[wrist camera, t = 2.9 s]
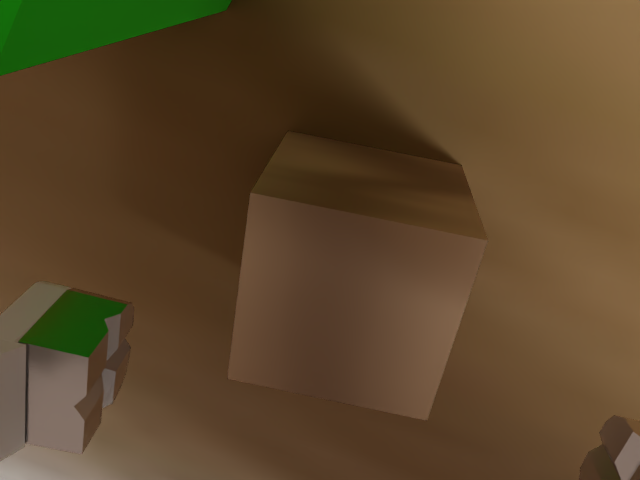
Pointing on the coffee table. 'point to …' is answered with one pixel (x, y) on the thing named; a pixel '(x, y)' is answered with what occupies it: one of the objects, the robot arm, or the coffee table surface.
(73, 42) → the puzzle toy
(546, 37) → the coffee table surface
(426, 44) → the coffee table surface
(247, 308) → the walnut block
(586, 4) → the coffee table surface
